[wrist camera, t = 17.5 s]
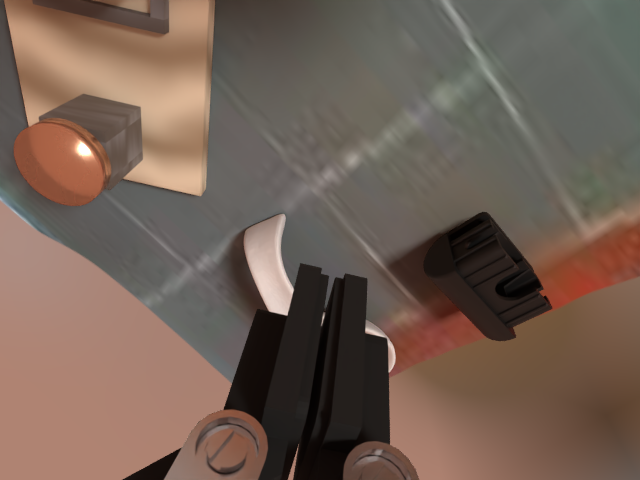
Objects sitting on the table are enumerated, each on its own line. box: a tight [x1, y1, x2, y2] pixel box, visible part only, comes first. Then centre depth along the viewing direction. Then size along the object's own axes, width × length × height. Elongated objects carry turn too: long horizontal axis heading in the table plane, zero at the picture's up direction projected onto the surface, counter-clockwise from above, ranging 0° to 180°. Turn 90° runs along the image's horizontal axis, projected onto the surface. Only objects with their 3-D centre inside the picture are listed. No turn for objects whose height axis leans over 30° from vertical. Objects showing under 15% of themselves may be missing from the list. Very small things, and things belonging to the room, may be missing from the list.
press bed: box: [4, 0, 215, 196], centre depth 33 cm, size 26×16×8 cm, turn 169°
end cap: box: [424, 212, 552, 341], centre depth 42 cm, size 10×7×7 cm
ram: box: [14, 118, 111, 206], centre depth 35 cm, size 6×6×7 cm
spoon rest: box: [244, 214, 396, 372], centre depth 47 cm, size 24×12×7 cm, turn 30°
